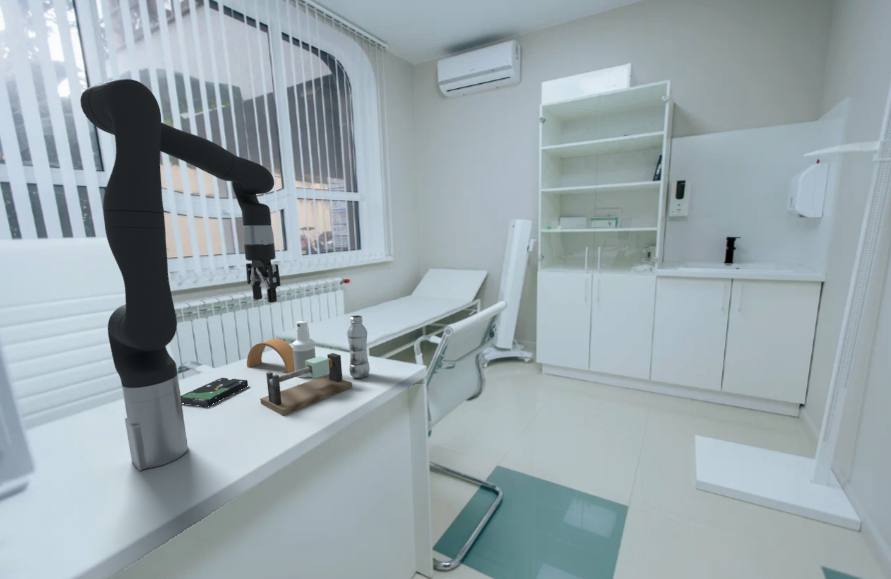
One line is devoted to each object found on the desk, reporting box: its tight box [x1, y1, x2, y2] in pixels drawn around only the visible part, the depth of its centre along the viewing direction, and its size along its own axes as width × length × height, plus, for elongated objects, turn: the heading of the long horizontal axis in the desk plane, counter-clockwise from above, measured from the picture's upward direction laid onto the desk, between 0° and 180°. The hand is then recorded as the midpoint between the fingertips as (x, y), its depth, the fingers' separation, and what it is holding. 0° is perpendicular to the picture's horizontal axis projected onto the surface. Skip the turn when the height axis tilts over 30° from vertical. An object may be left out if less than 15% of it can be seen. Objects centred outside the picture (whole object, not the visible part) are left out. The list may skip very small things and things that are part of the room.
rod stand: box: [259, 352, 353, 416], centre depth 110 cm, size 22×12×10 cm, turn 141°
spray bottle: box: [292, 320, 317, 379], centre depth 126 cm, size 7×7×18 cm
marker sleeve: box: [305, 355, 330, 379], centre depth 112 cm, size 5×4×4 cm
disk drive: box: [180, 377, 249, 408], centre depth 113 cm, size 10×3×15 cm
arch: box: [246, 338, 295, 374], centre depth 134 cm, size 6×20×10 cm, turn 65°
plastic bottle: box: [346, 315, 371, 379], centre depth 122 cm, size 6×7×20 cm
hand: (265, 300), depth 107 cm, fingers open, 8 cm apart
